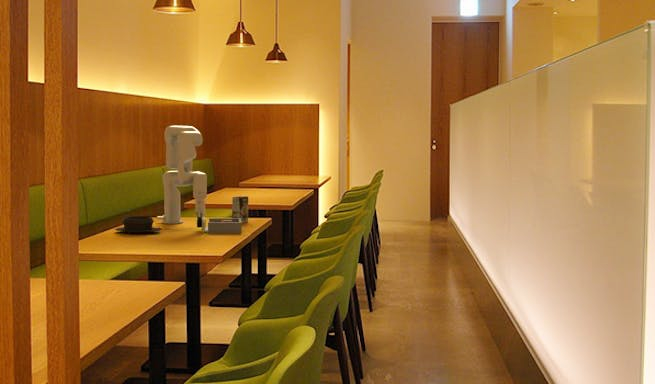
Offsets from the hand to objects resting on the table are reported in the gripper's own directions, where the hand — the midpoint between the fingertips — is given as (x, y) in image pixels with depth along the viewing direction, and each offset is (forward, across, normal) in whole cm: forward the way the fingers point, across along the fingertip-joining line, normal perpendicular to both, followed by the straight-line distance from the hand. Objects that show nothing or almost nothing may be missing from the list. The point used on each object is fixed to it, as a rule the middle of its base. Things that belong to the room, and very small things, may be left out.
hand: (199, 227), depth 415 cm
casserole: (+3, -6, +33) cm, 34 cm away
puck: (+1, 0, -15) cm, 15 cm away
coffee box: (+3, +36, -22) cm, 43 cm away
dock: (+2, 0, -14) cm, 14 cm away
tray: (+2, 0, -12) cm, 12 cm away
